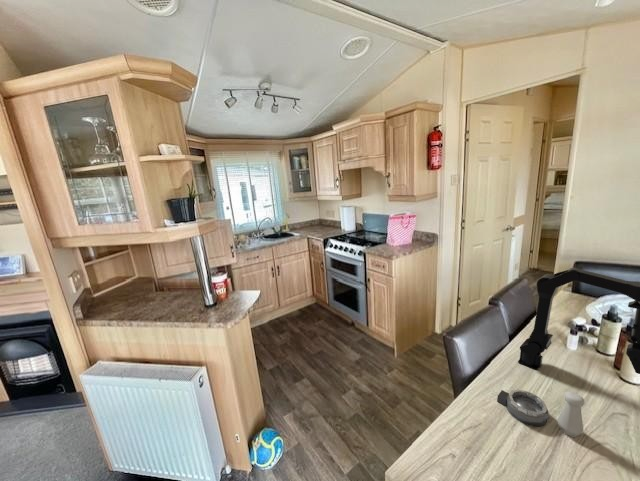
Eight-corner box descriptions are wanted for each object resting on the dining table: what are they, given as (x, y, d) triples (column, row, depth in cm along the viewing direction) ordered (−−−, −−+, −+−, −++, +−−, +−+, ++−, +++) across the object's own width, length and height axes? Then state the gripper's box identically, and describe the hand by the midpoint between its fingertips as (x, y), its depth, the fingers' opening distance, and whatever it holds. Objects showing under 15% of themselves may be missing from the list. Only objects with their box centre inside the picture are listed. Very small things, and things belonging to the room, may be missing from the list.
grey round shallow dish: (493, 406, 92) (494, 395, 91) (504, 390, 99) (505, 380, 98) (542, 433, 82) (543, 421, 81) (551, 413, 88) (553, 402, 87)
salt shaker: (575, 425, 84) (581, 390, 81) (586, 442, 78) (593, 405, 76) (552, 420, 86) (557, 386, 83) (561, 436, 80) (567, 400, 78)
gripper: (692, 346, 72) (681, 396, 75) (691, 322, 83) (681, 366, 86) (630, 330, 80) (621, 375, 84) (636, 310, 91) (628, 350, 94)
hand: (639, 366), depth 87 cm, fingers open, 9 cm apart
